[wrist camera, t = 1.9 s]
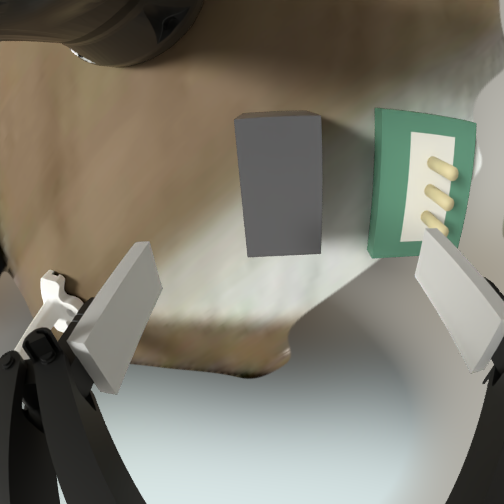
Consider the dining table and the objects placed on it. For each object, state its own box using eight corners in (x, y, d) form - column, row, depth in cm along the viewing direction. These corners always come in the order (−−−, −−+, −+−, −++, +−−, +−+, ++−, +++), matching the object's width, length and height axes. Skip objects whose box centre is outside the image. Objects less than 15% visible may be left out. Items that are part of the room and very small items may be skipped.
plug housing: (242, 113, 26) (234, 119, 19) (305, 110, 25) (321, 115, 18) (251, 218, 31) (247, 257, 24) (308, 215, 31) (320, 253, 24)
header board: (374, 107, 24) (400, 112, 19) (466, 120, 24) (499, 130, 18) (366, 249, 32) (383, 279, 27) (449, 245, 31) (472, 271, 26)
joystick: (43, 267, 36) (-32, 360, 19) (81, 278, 37) (7, 385, 19) (58, 319, 42) (4, 408, 24) (93, 331, 42) (43, 430, 25)
